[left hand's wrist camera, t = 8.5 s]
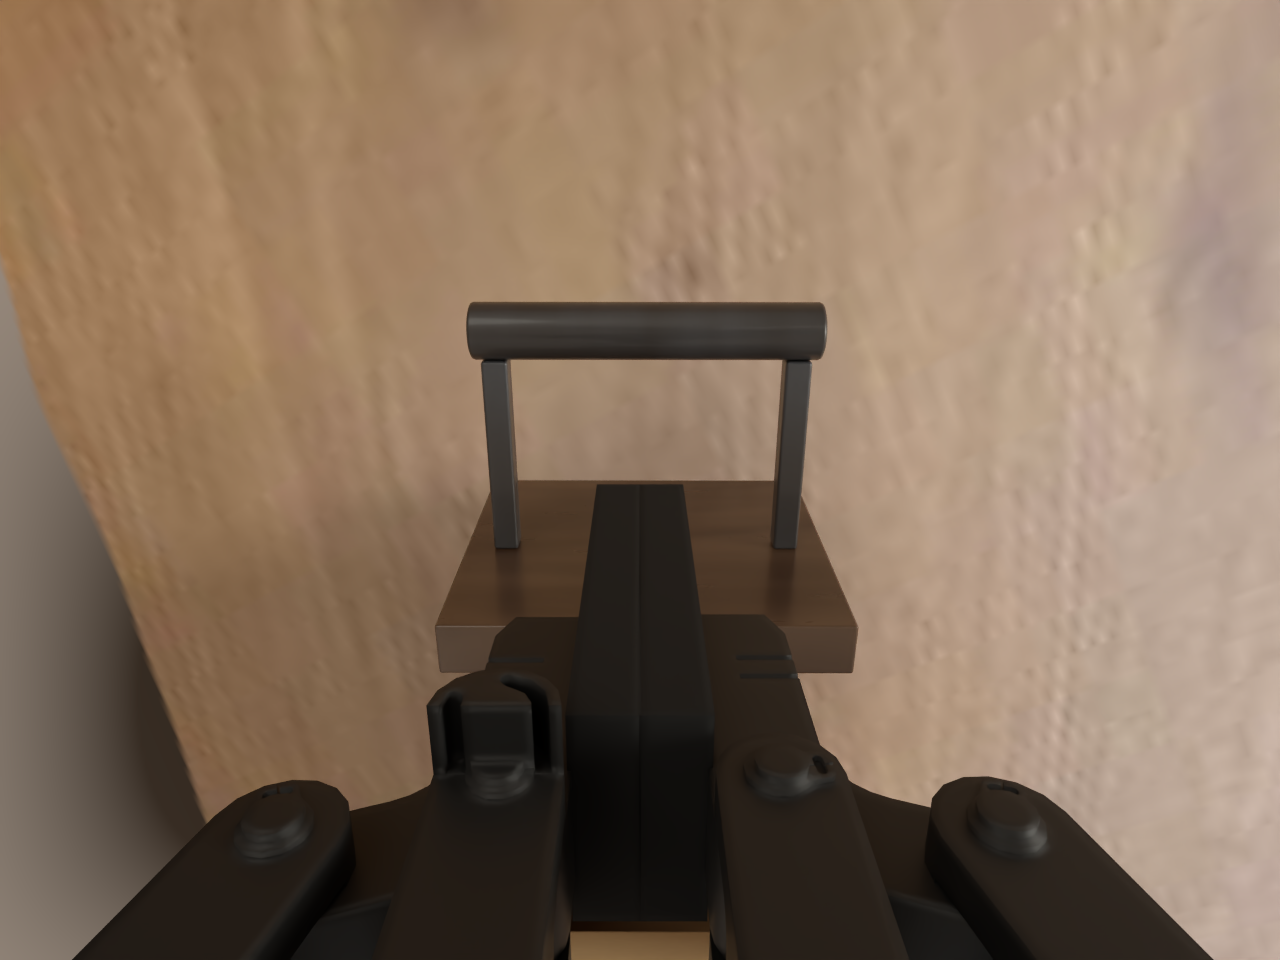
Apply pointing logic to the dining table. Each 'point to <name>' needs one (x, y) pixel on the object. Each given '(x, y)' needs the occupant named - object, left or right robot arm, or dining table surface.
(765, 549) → the drawer
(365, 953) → the left robot arm
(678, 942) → the cabinet
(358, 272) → the dining table surface
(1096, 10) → the dining table surface
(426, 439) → the dining table surface
